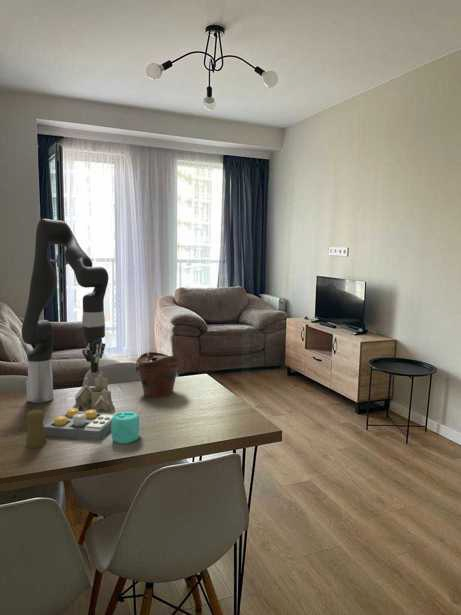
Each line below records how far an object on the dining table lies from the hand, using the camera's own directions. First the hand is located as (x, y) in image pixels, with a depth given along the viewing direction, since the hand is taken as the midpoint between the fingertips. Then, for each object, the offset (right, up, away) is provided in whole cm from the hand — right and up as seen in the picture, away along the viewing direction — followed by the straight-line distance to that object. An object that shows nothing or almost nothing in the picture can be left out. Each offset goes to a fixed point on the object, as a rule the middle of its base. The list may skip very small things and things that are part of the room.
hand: (94, 372), depth 159 cm
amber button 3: (-2, -17, +1) cm, 17 cm away
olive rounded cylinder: (-14, -21, -15) cm, 30 cm away
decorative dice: (+13, -21, -10) cm, 27 cm away
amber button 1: (-10, -18, -5) cm, 21 cm away
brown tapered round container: (+16, -15, +39) cm, 44 cm away
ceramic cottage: (-5, -18, +15) cm, 23 cm away
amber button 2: (-9, -17, +2) cm, 19 cm away
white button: (-3, -17, -7) cm, 18 cm away
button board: (-3, -19, -2) cm, 20 cm away
